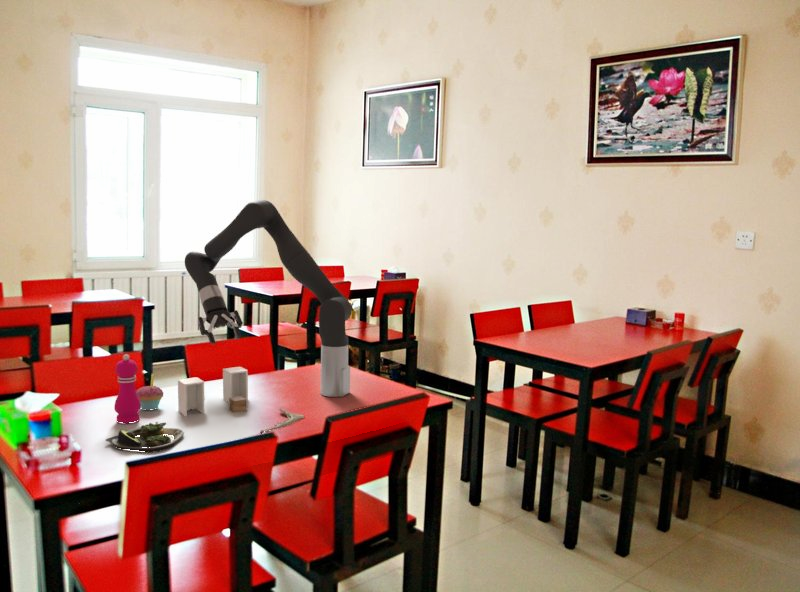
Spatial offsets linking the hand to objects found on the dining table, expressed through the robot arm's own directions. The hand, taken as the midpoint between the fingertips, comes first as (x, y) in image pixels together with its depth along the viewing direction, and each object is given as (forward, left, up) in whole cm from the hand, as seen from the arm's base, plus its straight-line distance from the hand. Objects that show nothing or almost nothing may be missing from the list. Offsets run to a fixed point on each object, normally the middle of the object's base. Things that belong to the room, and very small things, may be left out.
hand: (226, 341), depth 235 cm
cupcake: (+10, +27, -17) cm, 34 cm away
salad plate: (-7, +51, -18) cm, 55 cm away
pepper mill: (+8, +39, -17) cm, 44 cm away
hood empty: (-4, +25, -17) cm, 31 cm away
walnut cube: (-16, +18, -17) cm, 30 cm away
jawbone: (-31, +24, -18) cm, 43 cm away
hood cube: (-9, +8, -17) cm, 21 cm away
